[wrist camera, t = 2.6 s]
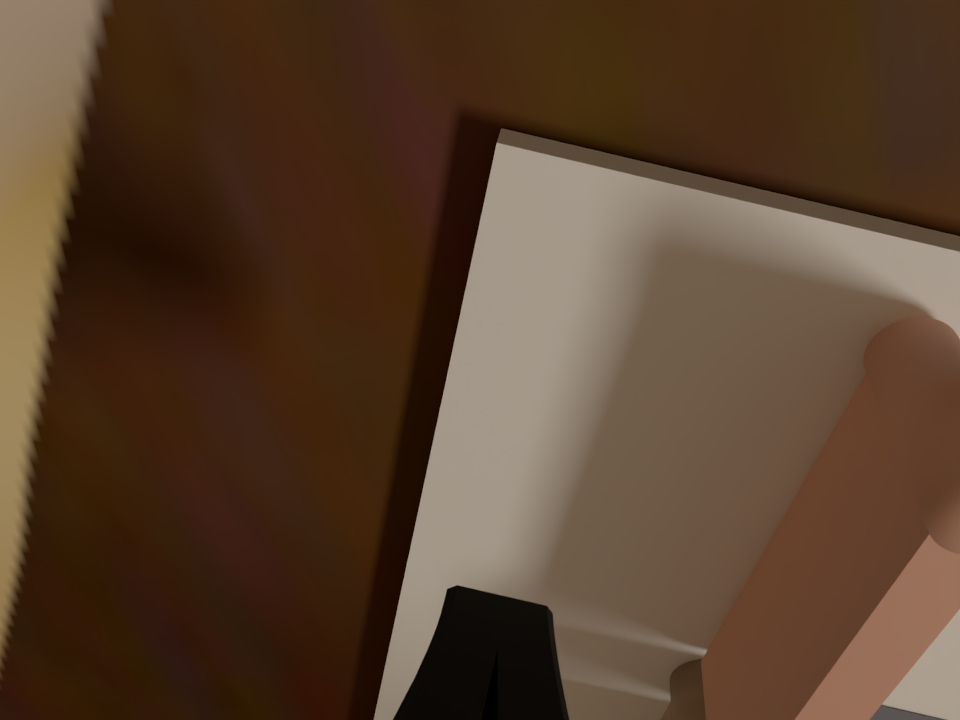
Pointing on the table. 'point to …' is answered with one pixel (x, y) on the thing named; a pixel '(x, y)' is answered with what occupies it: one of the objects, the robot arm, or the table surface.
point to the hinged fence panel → (856, 549)
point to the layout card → (649, 410)
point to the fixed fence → (686, 693)
